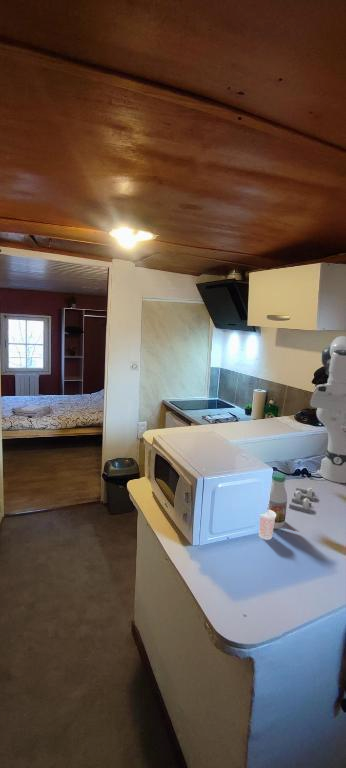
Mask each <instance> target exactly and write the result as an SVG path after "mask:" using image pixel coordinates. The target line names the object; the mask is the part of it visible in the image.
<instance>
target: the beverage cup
mask: <svg viewBox="0 0 346 768" xmlns="http://www.w3.org/2000/svg"><path fill="white" fill-rule="evenodd" d="M269 502H270V500H269ZM267 510H268V511H267V512H266V513H265V514H260V516H261V518H260V527H259V526H258V536H259V537H260V539H262V540H265V541H268V540H271V539H272V538H273V532H274V529H273V528H274V522H275V518H276V513H275V512H274V511H272V510H269V504H268V508H267Z"/></svg>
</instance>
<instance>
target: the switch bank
mask: <svg viewBox="0 0 346 768" xmlns="http://www.w3.org/2000/svg"><path fill="white" fill-rule="evenodd" d="M298 490H300V491H301V499H303V500H301V499H300V500H297V499H295V493H296V491H298ZM302 493H303V494H302ZM315 494H316V492H315V491H312V497H309V496H307V489H304V488H298V487H296V490H295V492H294V494H293V497H291V503H295V504H291V503H289V506H288V508H289V509H293V510H295V511H300V512H303V513H304V512H305V513H308V514H310V512H311V511H312V508H311V507H312V502H313V501H314V500H315V497H316V496H315ZM304 498H305V499H306V498H308V499H309V506H308V509H307V508H304V507H303V501H304ZM310 501H311V502H310ZM296 504H297V505H296ZM298 504H299V505H302V506H299V505H298Z"/></svg>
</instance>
